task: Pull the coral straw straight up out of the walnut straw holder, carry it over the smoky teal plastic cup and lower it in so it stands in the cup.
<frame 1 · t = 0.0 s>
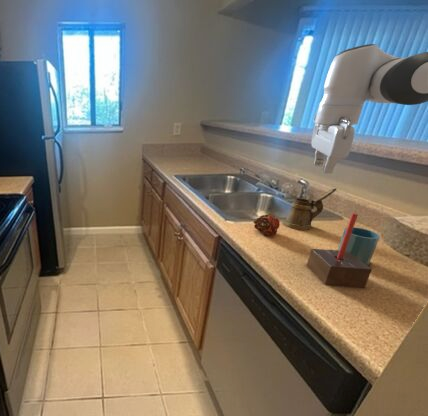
hand: (322, 169, 76), 31 cm above the worktop, tool pointing down, fingers open, 8 cm apart
straw: (343, 246, 78), in the straw holder
straw holder: (333, 275, 82), on the worktop
wooden mug: (303, 227, 114), on the worktop
cup: (351, 259, 90), on the worktop
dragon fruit: (264, 232, 109), on the worktop
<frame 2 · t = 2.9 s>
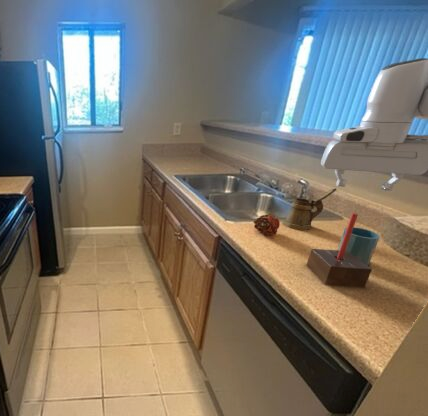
hand: (362, 187, 72), 27 cm above the worktop, tool pointing down, fingers open, 8 cm apart
nothing on the worktop moved.
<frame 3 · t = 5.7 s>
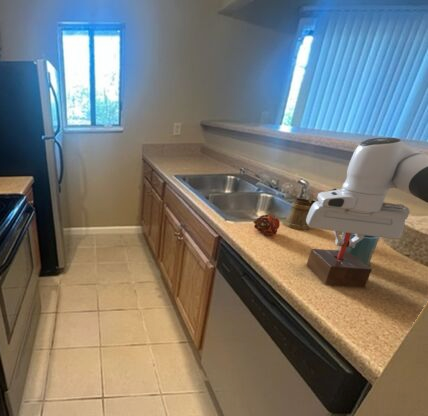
hand: (344, 245, 78), 10 cm above the worktop, tool pointing down, fingers closed on straw, 1 cm apart
straw: (344, 246, 78), in the straw holder, touching gripper
everything else where it was.
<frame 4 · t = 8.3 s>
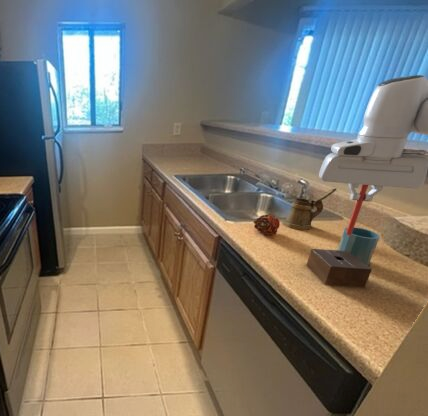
hand: (360, 200, 73), 24 cm above the worktop, tool pointing down, fingers closed on straw, 1 cm apart
straw: (359, 200, 73), point 24 cm above the worktop, touching gripper
everything else where it was.
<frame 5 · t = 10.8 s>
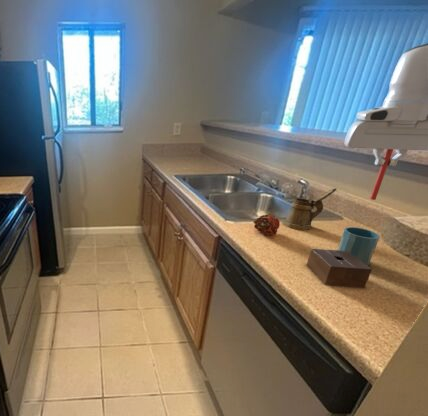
hand: (384, 165, 77), 32 cm above the worktop, tool pointing down, fingers closed on straw, 1 cm apart
straw: (384, 165, 77), point 32 cm above the worktop, touching gripper
everything else where it was.
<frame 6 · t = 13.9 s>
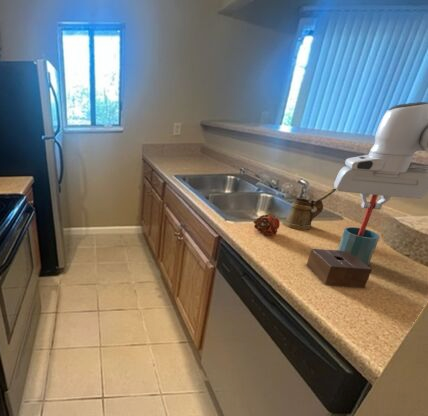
hand: (370, 208, 83), 18 cm above the worktop, tool pointing down, fingers closed on straw, 1 cm apart
straw: (370, 208, 83), point 18 cm above the worktop, touching gripper
everything else where it was.
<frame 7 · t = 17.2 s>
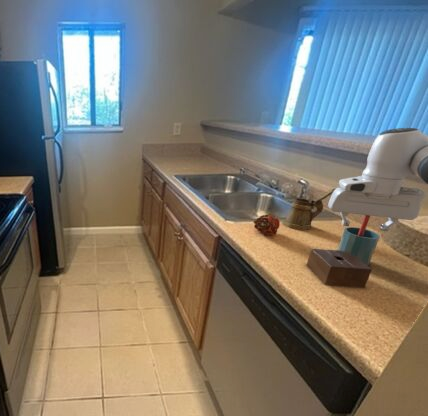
hand: (363, 227, 85), 12 cm above the worktop, tool pointing down, fingers open, 8 cm apart
straw: (362, 230, 86), in the cup, point 11 cm above the worktop
everything else where it was.
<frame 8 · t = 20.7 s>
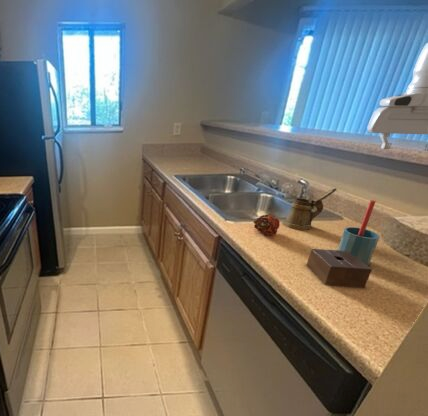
hand: (406, 149, 81), 35 cm above the worktop, tool pointing down, fingers open, 8 cm apart
nothing on the worktop moved.
at the end: straw inside the target area in the cup (0.1 cm from its centre), point 10.6 cm above the cup's base; the gripper is holding nothing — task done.
